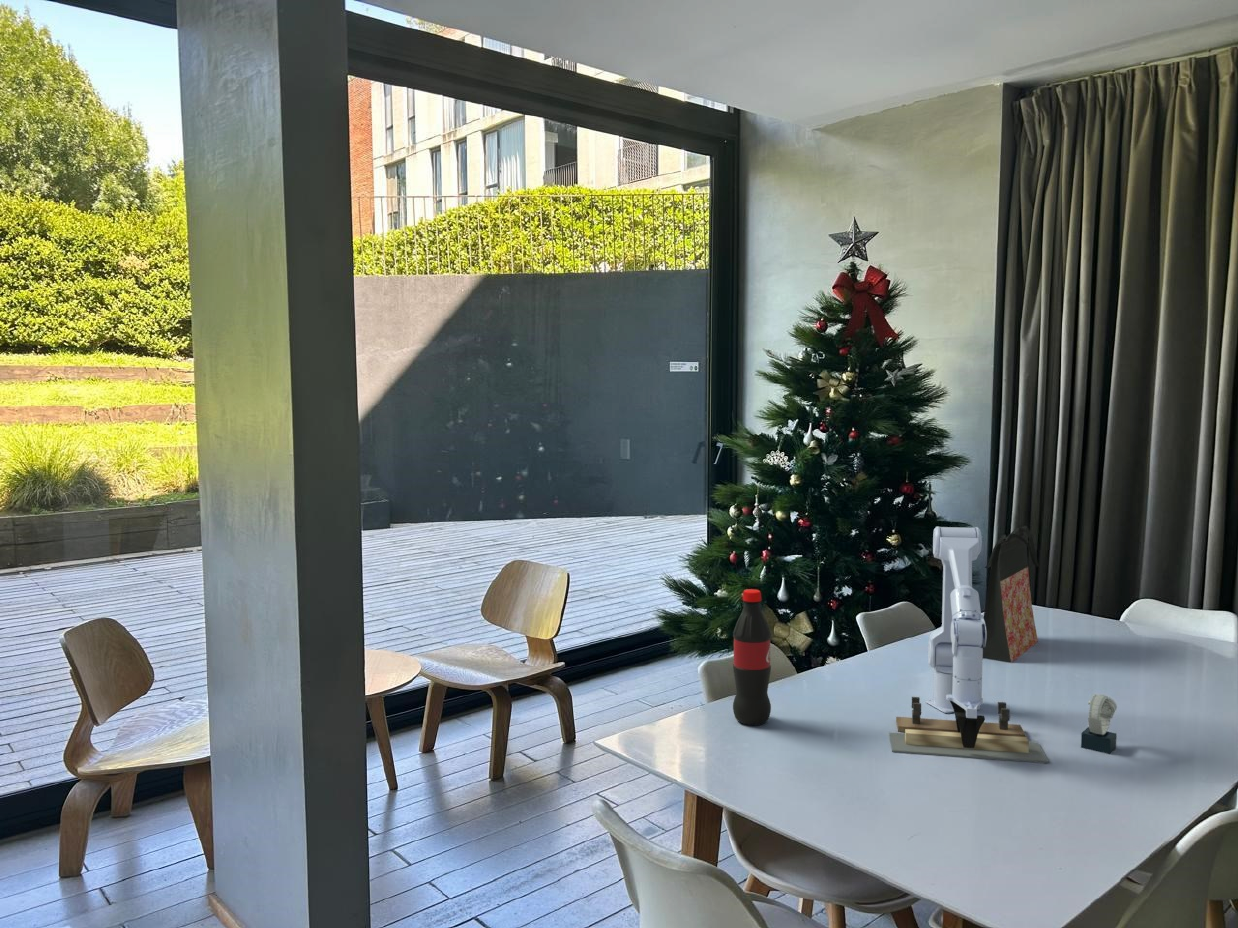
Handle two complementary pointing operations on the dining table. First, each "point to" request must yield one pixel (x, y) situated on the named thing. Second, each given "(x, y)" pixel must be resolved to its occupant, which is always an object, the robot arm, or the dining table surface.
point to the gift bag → (1010, 599)
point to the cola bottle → (752, 662)
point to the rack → (950, 725)
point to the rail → (956, 742)
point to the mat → (968, 751)
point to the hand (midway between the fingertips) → (965, 740)
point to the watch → (1100, 725)
